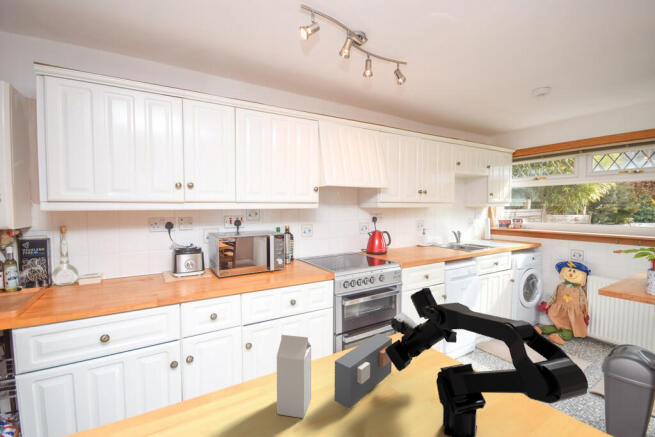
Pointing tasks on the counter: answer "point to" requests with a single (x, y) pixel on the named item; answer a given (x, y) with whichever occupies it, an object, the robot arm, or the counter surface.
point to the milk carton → (293, 376)
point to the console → (346, 370)
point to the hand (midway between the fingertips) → (391, 358)
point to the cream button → (363, 372)
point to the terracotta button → (383, 357)
